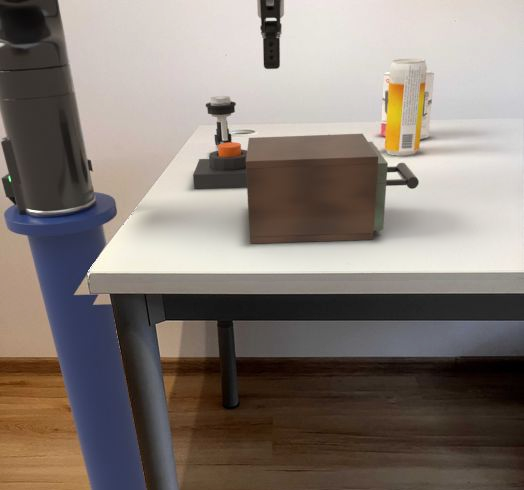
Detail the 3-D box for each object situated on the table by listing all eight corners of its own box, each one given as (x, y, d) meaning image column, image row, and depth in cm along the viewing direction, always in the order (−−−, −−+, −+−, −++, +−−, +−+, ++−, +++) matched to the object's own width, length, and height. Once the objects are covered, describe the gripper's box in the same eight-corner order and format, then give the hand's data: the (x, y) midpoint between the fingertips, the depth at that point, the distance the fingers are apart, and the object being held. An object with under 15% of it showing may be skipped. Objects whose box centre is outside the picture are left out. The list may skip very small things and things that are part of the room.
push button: (243, 158, 107) (240, 99, 102) (215, 161, 106) (210, 101, 101) (234, 151, 113) (231, 94, 107) (207, 154, 111) (202, 96, 106)
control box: (194, 189, 91) (191, 162, 89) (200, 172, 100) (198, 147, 98) (265, 186, 91) (264, 159, 89) (265, 170, 100) (264, 145, 98)
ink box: (378, 136, 119) (382, 71, 113) (393, 132, 122) (398, 68, 116) (414, 142, 114) (420, 74, 107) (429, 137, 116) (436, 71, 110)
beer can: (410, 147, 110) (418, 57, 102) (424, 154, 105) (434, 60, 97) (379, 150, 109) (384, 59, 101) (392, 157, 104) (399, 63, 96)
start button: (217, 159, 92) (217, 147, 91) (219, 154, 95) (218, 142, 94) (240, 158, 92) (240, 146, 91) (241, 153, 95) (241, 141, 94)
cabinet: (359, 207, 81) (362, 133, 76) (373, 239, 70) (378, 156, 65) (252, 210, 81) (248, 137, 76) (249, 243, 70) (245, 161, 65)
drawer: (400, 200, 80) (405, 140, 76) (418, 229, 70) (425, 161, 66) (268, 204, 80) (266, 145, 76) (269, 234, 70) (266, 167, 66)
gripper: (242, -81, 78) (247, 64, 87) (235, -94, 67) (241, 74, 76) (299, -83, 78) (298, 63, 87) (301, -97, 66) (300, 73, 75)
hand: (271, 68), depth 81 cm, fingers closed
